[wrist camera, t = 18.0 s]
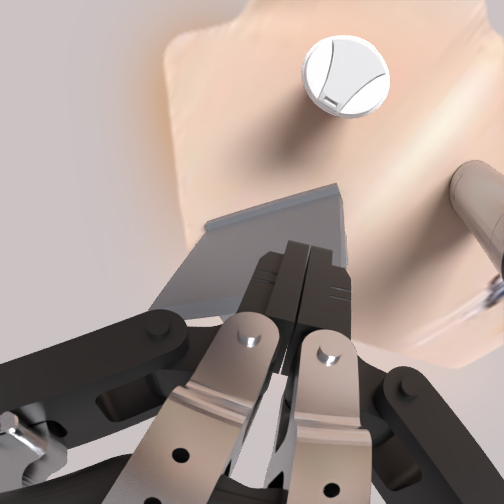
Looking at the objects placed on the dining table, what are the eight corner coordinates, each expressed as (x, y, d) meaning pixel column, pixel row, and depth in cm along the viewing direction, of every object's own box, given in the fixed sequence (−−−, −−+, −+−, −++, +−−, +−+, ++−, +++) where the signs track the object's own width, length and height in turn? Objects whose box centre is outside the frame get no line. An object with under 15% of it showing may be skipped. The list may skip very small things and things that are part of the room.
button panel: (348, 220, 41) (353, 320, 25) (223, 251, 49) (171, 340, 33) (336, 182, 38) (338, 266, 22) (207, 221, 47) (143, 303, 31)
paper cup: (351, 119, 33) (363, 137, 22) (299, 88, 33) (283, 89, 21) (381, 72, 29) (409, 66, 17) (328, 40, 28) (328, 16, 17)
